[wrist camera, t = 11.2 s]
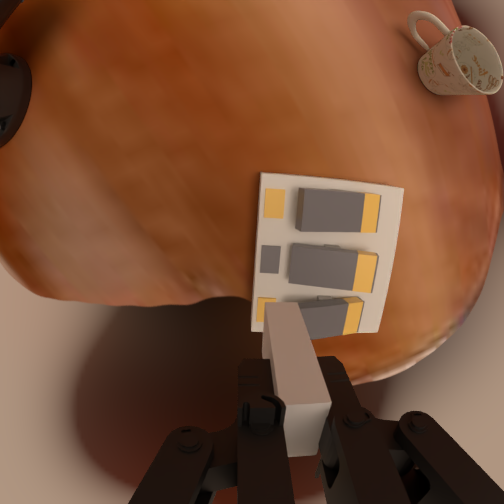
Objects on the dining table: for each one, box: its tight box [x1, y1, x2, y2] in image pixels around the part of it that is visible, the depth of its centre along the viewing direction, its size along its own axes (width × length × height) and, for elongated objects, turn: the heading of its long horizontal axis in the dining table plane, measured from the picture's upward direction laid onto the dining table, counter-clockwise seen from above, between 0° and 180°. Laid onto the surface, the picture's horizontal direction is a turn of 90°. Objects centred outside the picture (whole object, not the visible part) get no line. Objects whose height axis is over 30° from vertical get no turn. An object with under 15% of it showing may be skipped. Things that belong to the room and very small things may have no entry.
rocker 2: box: [288, 243, 379, 293], centre depth 32 cm, size 9×4×1 cm, turn 87°
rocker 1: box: [295, 187, 382, 233], centre depth 30 cm, size 9×4×1 cm, turn 86°
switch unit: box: [251, 172, 404, 333], centre depth 35 cm, size 16×18×5 cm
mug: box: [407, 11, 503, 95], centre depth 26 cm, size 8×13×10 cm, turn 47°
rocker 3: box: [298, 297, 365, 340], centre depth 34 cm, size 9×4×1 cm, turn 86°
